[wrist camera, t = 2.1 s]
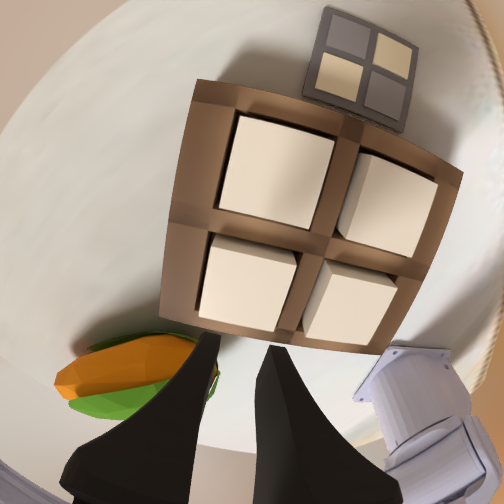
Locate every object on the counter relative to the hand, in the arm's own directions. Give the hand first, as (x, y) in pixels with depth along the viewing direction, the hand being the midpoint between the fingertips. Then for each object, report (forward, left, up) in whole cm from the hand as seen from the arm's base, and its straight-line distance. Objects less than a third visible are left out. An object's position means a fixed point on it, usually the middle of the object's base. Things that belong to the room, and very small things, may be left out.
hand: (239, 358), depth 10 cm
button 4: (0, -6, -7) cm, 9 cm away
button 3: (0, 0, -7) cm, 7 cm away
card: (-4, -15, -9) cm, 18 cm away
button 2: (-6, -6, -7) cm, 11 cm away
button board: (-3, -3, -9) cm, 10 cm away
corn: (+8, +13, -10) cm, 18 cm away
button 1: (-6, 0, -7) cm, 9 cm away
